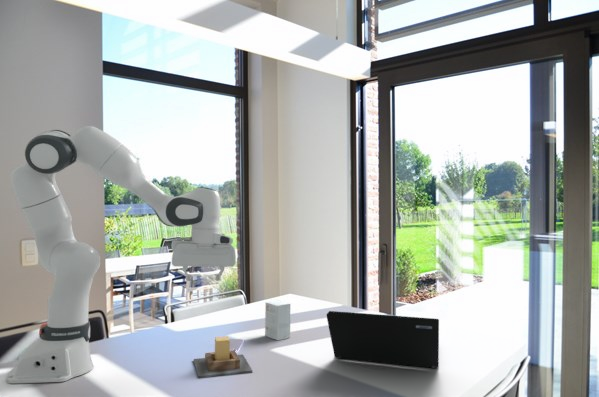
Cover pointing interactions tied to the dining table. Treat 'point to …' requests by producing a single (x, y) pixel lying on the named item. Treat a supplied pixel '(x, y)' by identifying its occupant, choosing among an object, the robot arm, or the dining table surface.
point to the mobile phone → (236, 344)
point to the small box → (277, 320)
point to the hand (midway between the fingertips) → (203, 280)
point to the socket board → (221, 365)
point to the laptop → (385, 338)
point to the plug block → (222, 348)
